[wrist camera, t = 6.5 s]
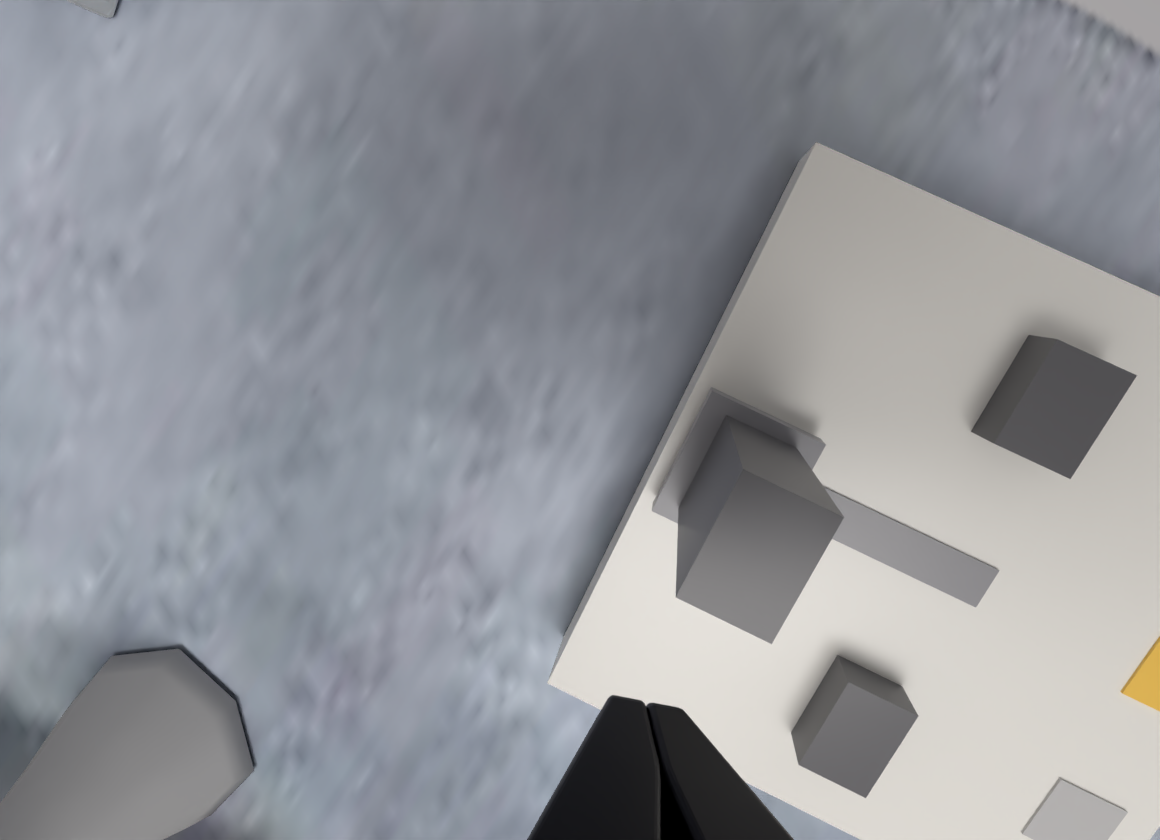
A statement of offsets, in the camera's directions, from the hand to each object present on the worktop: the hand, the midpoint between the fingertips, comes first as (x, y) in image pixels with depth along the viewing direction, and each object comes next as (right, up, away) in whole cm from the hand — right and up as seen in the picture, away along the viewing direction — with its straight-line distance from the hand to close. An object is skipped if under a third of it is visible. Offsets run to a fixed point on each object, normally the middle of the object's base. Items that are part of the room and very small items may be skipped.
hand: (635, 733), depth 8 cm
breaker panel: (+10, 0, +15) cm, 18 cm away
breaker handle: (+4, +2, +12) cm, 13 cm away
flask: (-17, -8, +20) cm, 28 cm away
